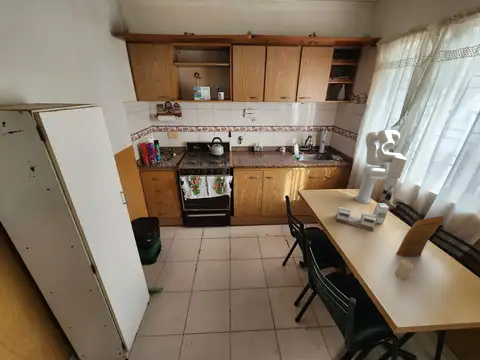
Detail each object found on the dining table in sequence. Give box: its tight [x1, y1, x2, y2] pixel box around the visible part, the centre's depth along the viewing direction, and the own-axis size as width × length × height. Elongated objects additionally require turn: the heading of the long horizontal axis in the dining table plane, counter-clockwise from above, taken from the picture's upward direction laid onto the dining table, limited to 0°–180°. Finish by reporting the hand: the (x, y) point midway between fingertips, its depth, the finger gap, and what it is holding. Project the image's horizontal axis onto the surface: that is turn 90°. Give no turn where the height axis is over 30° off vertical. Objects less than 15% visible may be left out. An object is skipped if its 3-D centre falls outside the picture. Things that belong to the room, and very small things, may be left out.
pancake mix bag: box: [395, 215, 444, 258], centre depth 120 cm, size 7×19×28 cm, turn 95°
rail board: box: [335, 206, 376, 232], centre depth 153 cm, size 10×24×8 cm, turn 65°
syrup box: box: [372, 202, 390, 225], centre depth 154 cm, size 6×6×14 cm
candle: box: [395, 259, 415, 281], centre depth 109 cm, size 6×6×10 cm
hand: (386, 196), depth 148 cm, fingers open, 9 cm apart
